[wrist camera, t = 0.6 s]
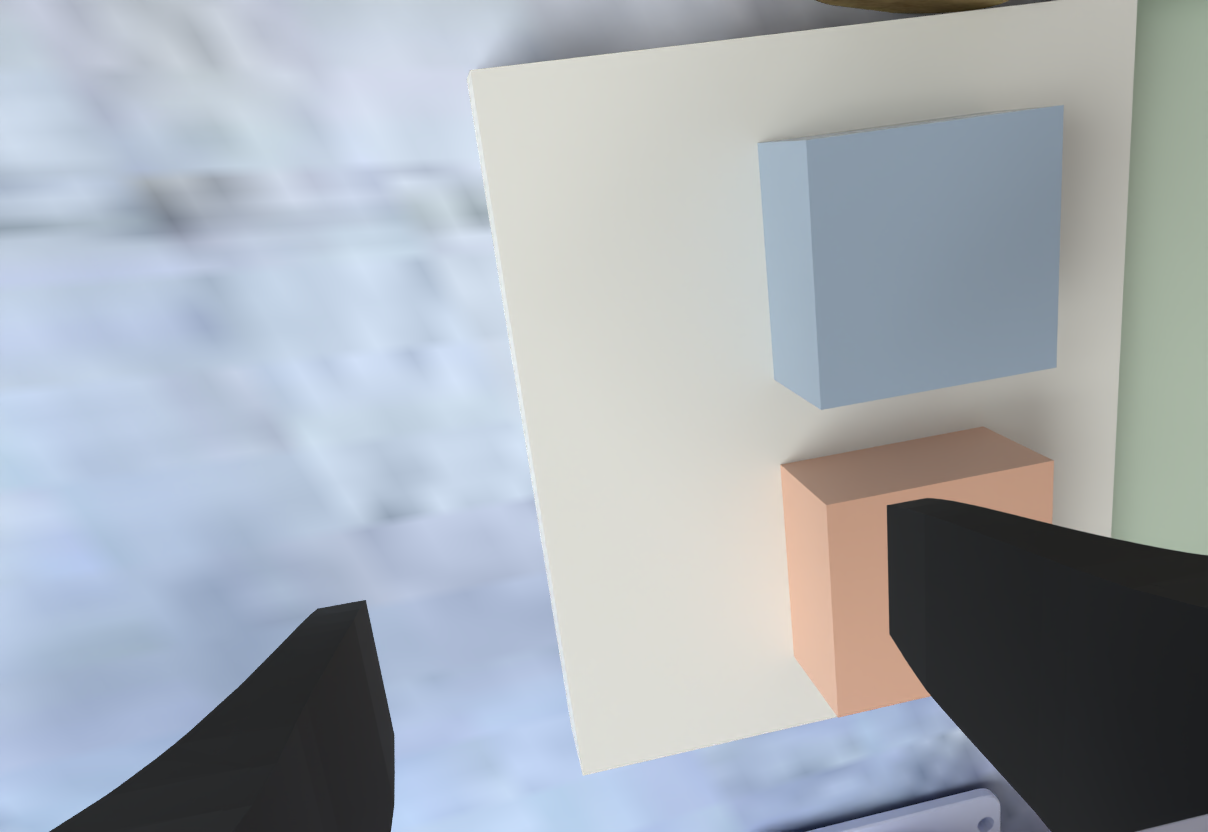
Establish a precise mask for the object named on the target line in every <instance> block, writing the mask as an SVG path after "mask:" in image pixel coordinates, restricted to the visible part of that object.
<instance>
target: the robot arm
mask: <svg viewBox="0 0 1208 832" xmlns="http://www.w3.org/2000/svg"><path fill="white" fill-rule="evenodd" d="M887 546H888V595H889V634H890V636H891V638H892V639H893V641H894V642H895V644H896V646H897V647H898V649H899V650H900V652H901V653H902V655H903V657H904V658H905V660H906V661H907V663H908V665H909V666H910V667H911V669H912V670H913V672H914V673H915V675H916V676H917V678H918V679H919V681H920V682H921V683H922V685H923V686H924V688H925V689H926V691H927V692H928V693H929V694H930V695H931V696H932V698H933V699H934V700H935V701H936V702H937V703H938V705H939V706H940V707H941V708H942V709H943V710H944V711H945V712H946V714H947V715H948V716H949V717H950V718H951V719H952V720H953V721H954V723H955V724H956V725H957V726H958V727H959V728H960V729H961V730H962V732H963V733H964V734H965V735H966V736H967V737H968V738H969V739H970V740H971V742H972V743H973V744H974V745H975V746H976V747H977V748H978V749H979V750H980V751H981V753H982V754H983V755H984V756H985V757H986V758H987V759H988V760H989V761H990V763H991V764H992V765H993V766H994V767H995V768H996V769H997V770H998V771H999V772H1000V774H1001V775H1002V776H1003V777H1004V778H1005V779H1006V780H1007V781H1008V782H1009V784H1010V785H1011V786H1012V787H1013V788H1014V789H1015V790H1016V791H1017V792H1018V793H1019V795H1020V796H1021V797H1022V798H1023V799H1024V800H1025V801H1026V802H1027V803H1028V805H1029V806H1030V807H1031V808H1032V809H1033V810H1034V811H1035V812H1036V814H1037V815H1038V816H1039V817H1040V818H1041V820H1042V821H1043V822H1044V823H1045V824H1046V826H1047V827H1048V828H1049V829H1050V830H1051V832H1208V555H1201V554H1194V553H1187V552H1181V551H1176V550H1170V549H1164V548H1159V547H1153V546H1148V545H1144V544H1139V543H1134V542H1129V541H1124V540H1119V539H1114V538H1109V537H1105V536H1100V535H1096V534H1092V533H1087V532H1083V531H1078V530H1074V529H1070V528H1066V527H1062V526H1058V525H1054V524H1050V523H1045V522H1041V521H1037V520H1033V519H1029V518H1025V517H1021V516H1017V515H1013V514H1009V513H1005V512H1001V511H997V510H993V509H989V508H984V507H980V506H976V505H971V504H966V503H961V502H956V501H951V500H944V499H935V498H923V499H918V500H913V501H907V502H902V503H896V504H891V505H887ZM394 774H395V771H394V732H393V727H392V722H391V717H390V713H389V708H388V703H387V699H386V694H385V689H384V684H383V680H382V675H381V670H380V666H379V661H378V656H377V651H376V647H375V642H374V637H373V633H372V628H371V623H370V619H369V614H368V609H367V604H366V600H363V601H358V602H352V603H347V604H341V605H336V606H330V607H325V608H319V609H317V610H316V611H314V612H313V613H312V614H311V615H310V616H309V617H308V618H307V619H305V620H304V621H303V622H302V623H301V624H300V625H299V626H298V627H297V628H296V630H295V631H294V632H293V633H292V634H291V635H290V636H289V637H288V638H287V639H286V640H285V641H284V642H283V643H282V644H281V645H280V646H279V647H278V648H277V649H276V650H275V651H274V652H273V653H272V654H271V655H270V656H269V657H268V658H267V659H266V660H265V661H264V662H263V663H262V664H261V665H260V666H259V667H258V668H257V669H256V670H255V671H254V672H253V673H252V674H251V675H250V676H249V677H248V678H247V679H246V680H245V681H244V682H243V683H242V684H241V685H240V686H239V687H238V688H237V689H236V690H235V691H234V692H233V693H231V694H230V695H229V696H228V697H227V698H226V699H225V700H224V701H223V702H222V703H220V704H219V705H218V706H217V707H216V708H215V709H214V710H213V711H212V712H210V713H209V714H208V715H207V716H206V717H205V718H204V719H203V720H202V721H201V722H199V723H198V724H197V725H196V726H195V727H194V728H193V729H192V730H191V731H189V732H188V733H187V734H186V735H185V736H184V737H182V738H181V739H180V740H179V741H178V742H176V743H175V744H174V745H173V746H171V747H170V748H169V749H168V750H166V751H165V752H164V753H163V754H161V755H160V756H159V757H158V758H156V759H155V760H154V761H152V762H151V763H150V764H148V765H147V766H146V767H144V768H143V769H142V770H140V771H139V772H138V773H136V774H135V775H134V776H132V777H131V778H130V779H128V780H127V781H126V782H124V783H123V784H121V785H120V786H119V787H117V788H116V789H114V790H113V791H112V792H110V793H109V794H107V795H106V796H104V797H103V798H101V799H100V800H98V801H97V802H95V803H94V804H92V805H90V806H89V807H87V808H86V809H84V810H83V811H81V812H80V813H78V814H76V815H75V816H73V817H72V818H70V819H69V820H67V821H65V822H64V823H62V824H61V825H59V826H58V827H56V828H54V829H53V830H51V831H50V832H391V826H392V818H393V810H394ZM1000 811H1001V805H1000V801H999V800H998V798H997V797H996V796H995V795H994V794H993V793H992V792H991V791H990V790H989V789H986V788H981V789H975V790H971V791H967V792H963V793H959V794H955V795H951V796H947V797H943V798H939V799H935V800H931V801H927V802H923V803H919V804H915V805H911V806H907V807H903V808H899V809H895V810H891V811H887V812H883V813H879V814H875V815H871V816H867V817H863V818H859V819H855V820H851V821H847V822H843V823H839V824H835V825H831V826H826V827H822V828H818V829H814V830H810V831H806V832H1000ZM983 818H984V819H983ZM981 819H983V820H982V821H981Z"/></svg>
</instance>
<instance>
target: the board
mask: <svg viewBox="0 0 1208 832" xmlns="http://www.w3.org/2000/svg"><path fill="white" fill-rule="evenodd" d="M1137 1H1138V0H1057V1H1049V2H1040V3H1032V4H1023V5H1015V6H1006V7H998V8H990V9H981V10H973V11H964V12H956V13H948V14H939V15H931V16H922V17H914V18H905V19H897V20H889V21H880V22H872V23H863V24H855V25H846V26H838V27H830V28H821V29H813V30H804V31H796V32H788V33H779V34H771V35H762V36H754V37H745V38H737V39H729V40H720V41H712V42H703V43H695V44H687V45H678V46H670V47H661V48H653V49H644V50H636V51H628V52H619V53H611V54H602V55H594V56H585V57H577V58H569V59H560V60H552V61H543V62H535V63H527V64H518V65H510V66H501V67H493V68H484V69H476V70H470V72H469V75H468V77H467V84H468V91H469V97H470V103H471V109H472V115H473V122H474V128H475V134H476V140H477V146H478V153H479V159H480V165H481V171H482V177H483V184H484V190H485V196H486V202H487V208H488V215H489V221H490V227H491V233H492V239H493V246H494V252H495V258H496V264H497V270H498V276H499V283H500V289H501V295H502V301H503V307H504V314H505V320H506V326H507V332H508V338H509V345H510V351H511V357H512V363H513V369H514V376H515V382H516V388H517V394H518V400H519V407H520V413H521V419H522V425H523V431H524V438H525V444H526V450H527V456H528V462H529V468H530V475H531V481H532V487H533V493H534V499H535V506H536V512H537V518H538V524H539V530H540V537H541V543H542V549H543V555H544V561H545V568H546V574H547V580H548V586H549V592H550V599H551V605H552V611H553V617H554V623H555V630H556V636H557V642H558V648H559V654H560V660H561V667H562V673H563V679H564V685H565V691H566V698H567V704H568V710H569V716H570V722H571V728H572V732H573V736H574V740H575V744H576V749H577V753H578V757H579V761H580V765H581V770H582V774H583V775H588V774H592V773H596V772H601V771H605V770H609V769H614V768H618V767H622V766H627V765H631V764H635V763H640V762H644V761H648V760H653V759H657V758H661V757H666V756H670V755H674V754H679V753H683V752H687V751H692V750H696V749H700V748H705V747H709V746H713V745H718V744H722V743H726V742H731V741H735V740H739V739H744V738H748V737H752V736H757V735H761V734H765V733H770V732H774V731H778V730H783V729H787V728H791V727H796V726H800V725H804V724H809V723H813V722H817V721H822V720H826V719H830V718H835V717H837V715H836V714H835V713H834V711H833V710H832V708H831V707H830V706H829V704H828V703H827V702H826V700H825V699H824V697H823V696H822V695H821V693H820V692H819V690H818V689H817V688H816V686H815V685H814V684H813V682H812V681H811V679H810V678H809V677H808V675H807V674H806V672H805V671H804V670H803V668H802V667H801V665H800V664H799V663H798V661H797V660H796V659H795V657H794V651H793V637H792V623H791V609H790V595H789V581H788V567H787V553H786V538H785V524H784V510H783V496H782V482H781V468H780V465H781V464H786V463H791V462H797V461H802V460H807V459H813V458H818V457H823V456H829V455H834V454H839V453H845V452H850V451H855V450H861V449H866V448H871V447H876V446H882V445H887V444H892V443H898V442H903V441H908V440H914V439H919V438H924V437H930V436H935V435H940V434H946V433H951V432H956V431H961V430H967V429H972V428H977V427H983V426H984V427H986V428H988V429H990V430H992V431H994V432H996V433H998V434H1000V435H1002V436H1004V437H1006V438H1008V439H1010V440H1012V441H1015V442H1017V443H1019V444H1021V445H1023V446H1025V447H1027V448H1029V449H1031V450H1033V451H1035V452H1037V453H1039V454H1041V455H1043V456H1045V457H1048V458H1050V459H1052V460H1054V477H1053V513H1052V524H1054V525H1058V526H1062V527H1066V528H1070V529H1074V530H1078V531H1083V532H1087V533H1092V534H1096V535H1100V536H1105V537H1109V538H1111V528H1112V508H1113V487H1114V467H1115V447H1116V427H1117V406H1118V386H1119V366H1120V346H1121V325H1122V305H1123V285H1124V265H1125V244H1126V224H1127V204H1128V184H1129V163H1130V143H1131V123H1132V103H1133V82H1134V62H1135V42H1136V22H1137ZM1058 105H1064V113H1063V149H1062V186H1061V222H1060V258H1059V295H1058V331H1057V367H1056V368H1051V369H1045V370H1040V371H1034V372H1029V373H1023V374H1018V375H1012V376H1007V377H1001V378H996V379H990V380H985V381H979V382H973V383H968V384H962V385H957V386H951V387H946V388H940V389H935V390H929V391H924V392H918V393H913V394H907V395H901V396H896V397H890V398H885V399H879V400H874V401H868V402H863V403H857V404H852V405H846V406H841V407H835V408H830V409H824V410H820V409H819V408H817V407H816V406H814V405H813V404H811V403H809V402H808V401H806V400H805V399H803V398H802V397H800V396H799V395H797V394H796V393H794V392H792V391H791V390H789V389H788V388H786V387H785V386H783V385H782V384H780V383H779V382H777V381H775V380H774V369H773V355H772V341H771V327H770V313H769V299H768V285H767V271H766V257H765V243H764V228H763V214H762V200H761V186H760V172H759V158H758V144H757V143H761V142H768V141H776V140H783V139H791V138H798V137H805V136H813V135H820V134H827V133H835V132H842V131H849V130H857V129H864V128H871V127H879V126H886V125H894V124H901V123H908V122H916V121H923V120H930V119H938V118H945V117H952V116H960V115H967V114H974V113H982V112H992V111H1003V110H1014V109H1025V108H1036V107H1047V106H1058Z"/></svg>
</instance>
